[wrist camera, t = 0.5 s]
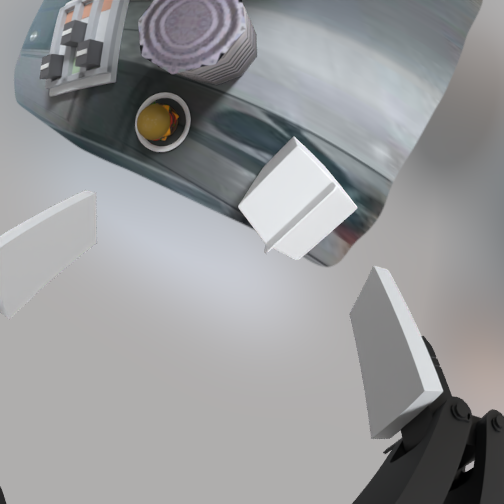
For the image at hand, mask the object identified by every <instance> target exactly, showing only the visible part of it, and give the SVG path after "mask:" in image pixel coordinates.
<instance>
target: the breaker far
mask: <svg viewBox="0 0 504 504" xmlns="http://www.w3.org/2000/svg"><path fill="white" fill-rule="evenodd" d="M63 61H64V55H58V54H49V55H47V56H45V57H43V59H42V65H41V72H40V79H57V78H60V77H62V69H63Z"/></svg>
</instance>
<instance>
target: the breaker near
mask: <svg viewBox="0 0 504 504" xmlns="http://www.w3.org/2000/svg"><path fill="white" fill-rule="evenodd" d="M102 49H103V42H100V41H96V40H92V39H88V40H85V41H82V42H80V43H78V49H77V55H76V62H75V66H76V67H85V68H94V67H98V66H100V63H101V56H102Z"/></svg>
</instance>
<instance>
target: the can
mask: <svg viewBox="0 0 504 504" xmlns="http://www.w3.org/2000/svg"><path fill="white" fill-rule="evenodd" d="M138 28H139V39H140V49H141V56H142V57H144V58H146V59H148V60H149V61H151V62H153V63H154V64H156V65H158V67H160V68H163V69H164V70H166V71H168V72H169V73H171V74H175V73H177V74H179V75H182V76H184V77H187V78H189V79H192V80H194V81H200V82H206V83H211V84H216V85H219V84H221V83H224V82H226V81H229V80H232V79H234V78H237V77H240V76H242V75H243V74H244V72H245V71H246V70H247V69H248V67H249V66H250V65H251V63H252V62H253V61H254V60H255V58H256V57H257V38H256V32H255V30H254V28H253V25H252V23H251V21H250V18H249V16H248V14H247V12H246V9H245V7H244V5H243V3H242V0H154V1H153V2H152V3H151V5H150V6H149V7H148V8H147V10H146V11H145V12H144V14H143V15H142V16H141V18H140V19H139V21H138Z"/></svg>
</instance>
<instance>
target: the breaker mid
mask: <svg viewBox="0 0 504 504" xmlns="http://www.w3.org/2000/svg"><path fill="white" fill-rule="evenodd" d="M87 24H88V23H85V22H81V21H78V20H73V21H70V22H68V23H66V24H65V25H64V29H63V33H62V38H61V43H60V45H64V46H70V47H78V43H80V42H82V41H84V39H85V33H86V28H87Z"/></svg>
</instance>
